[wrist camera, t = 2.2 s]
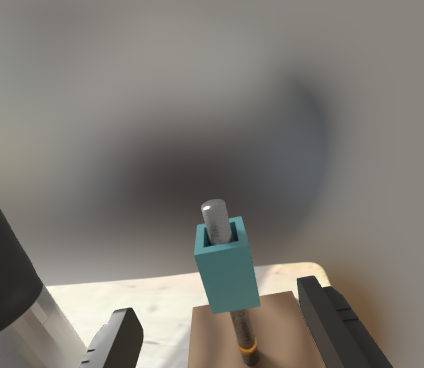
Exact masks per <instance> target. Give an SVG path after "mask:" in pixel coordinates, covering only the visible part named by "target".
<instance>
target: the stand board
mask: <svg viewBox="0 0 424 368" xmlns="http://www.w3.org/2000/svg"><path fill="white" fill-rule="evenodd" d="M259 299H260V304H261V306H260V307H254V308H249V312H250V317H251V321H252V326H253V330H254V334H255V336H256V340H257V348H258V352H259V361H258V363H257V364H256V365H254V366H248V365H246V364H245V363H244V362H243V359H242V356H241V352H240V350H239V348H238V344H237V338H236V334H235V330H234V327H233V323H232V319H231V316H230V312H224V313H218V314H212V310H211V307H210V305H204V306H198V307H193V313H192V324H191V335H190V347H189V358H188V368H325V366H324V363H323V361H322V359H321V357H320V354H319V352H318V350H317V347H316V345H315V343H314V341H313V338H312V336H311V334H310V331H309V329H308V327H307V325H306V322H305V320H304V318H303V315H302V313H301V311H300V308H299V306H298V304H297V302H296V299H295V297H294V295H293V292H292V291H287V292H281V293H276V294H270V295H264V296H259Z"/></svg>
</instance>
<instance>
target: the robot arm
mask: <svg viewBox="0 0 424 368" xmlns="http://www.w3.org/2000/svg"><path fill="white" fill-rule="evenodd" d="M297 286H298V295H299V303H300V307H301V310H302V313H303V316H304V318H305V320H306V323H307V325H308V327H309V330H310V332H311V334H312V336H313V339H314V341H315V343H316V345H317V348H318V350H319V352H320V354H321V357H322V359H323V361H324V363H325V366H326V368H393V367H392V365H391V364H390V363H389V361H388V360H387V358H386V357H385V355H384V354H383V353H382V351H381V350H380V349H379V347H378V345H377V344H376V343H375V342H374V340H373V338H372V337H371V336H370V334H369V333H368V331H367V330H366V329H365V327H364V325H363V324H362V323H361V321H359V319H358V317H357V315H356V314H355V313H354V311H353V310H352V309H351V307H350V306H349V304H348V303H347V301H346V300H345V299H344V297H343V295H341V294H340V293H339V292H337V291H336V290H335V289H334V288H332V287H331V286H328V287H323V288H322V287H321V285H320V284H319V282H318V280H317V279H316V277H315V276H307V277H302V278H297ZM143 336H144V335H143V328H142V326H141V324H140V322H139V320H138V318H137V316H136V314H135V312H134V310H133V309H132V308H125V309H119V310H115V311H114V312H113V313H112V315H111V317H110V319H109V321H108V324H106V325H103V327H102V328H101V329H100V330H99V331H98V333H97V334H96V335H95V336H94V338H93V340H92V342H91V344H90V346H89V348H88V349H87V348H86V346H85V344H84V343H83V341H82V340H81V338H80V337H79V335H78V334H77V332H76V331H75V330H74V328H73V327H72V325H71V324H70V322H69V321H68V319H67V318H66V316H65V315H64V313H63V312H62V310H61V309H60V307H59V306H58V304H57V303H56V302H55V300H54V299H53V297H52V296H51V294H50V293H49V291H48V290H47V289H46V287H45V286H44V284H43V283H42V281H41V280H40V278H39V277H38V275H37V273H36V271H35V269H34V267H33V265H32V263H31V261H30V259H29V257H28V256H27V254H26V253H25V251H24V250H23V248H22V246H21V245H20V243H19V241H18V239H17V238H16V236H15V234H14V232H13V231H12V229H11V227H10V225H9V223H8V222H7V220H6V218H5V216H4V214H3V213H2V211H1V210H0V368H135V367H136V364H137V361H138V357H139V354H140V350H141V347H142V343H143Z"/></svg>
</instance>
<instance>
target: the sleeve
mask: <svg viewBox="0 0 424 368" xmlns="http://www.w3.org/2000/svg"><path fill="white" fill-rule="evenodd" d="M229 223H230V227H231V232H232V236H233V241H234V242H231V243H225V244H220V245H215V246H211V242H210V239H209V235H208V231H207V228H206V224H200V225H197V234H196V243H195V252H194V256H195V259H196V262H197V266H198V269H199V272H200V275H201V279H202V282H203V285H204V288H205V291H206V295H207V298H208V301H209V304H210V307H211V310H212V314H218V313H224V312H230V311H236V310H242V309H248V308H254V307H260V306H261V304H260V299H259V293H258V288H257V283H256V278H255V273H254V268H253V262H252V257H251V252H250V247H249V243H248V239H247V236H246V232H245V228H244V225H243V221H242V217H236V218H230V219H229Z"/></svg>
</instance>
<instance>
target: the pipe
mask: <svg viewBox="0 0 424 368" xmlns="http://www.w3.org/2000/svg"><path fill="white" fill-rule="evenodd" d="M201 209H202V213H203V216H204V220H205V224H206V228H207V231H208V235H209V239H210V242H211V246H215V245H220V244H225V243H231V242H234V241H233V236H232V232H231V227H230V223H229V219H228V214H227V210H226V205H225V202H224V201H223V200H221V199H214V200H210V201H207V202H205V203H204V204H203V205H202V206H201ZM230 316H231V319H232V323H233V327H234V330H235V334H236V338H237V344H238V348H239V350H240V352H241V356H242V359H243V362H244V363H245V364H246V365H248V366H254V365H256V364H257V363H258V361H259V352H258V348H257V340H256V336H255V334H254V330H253V326H252V321H251V317H250V312H249V308H248V309H242V310H236V311H230Z"/></svg>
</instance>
